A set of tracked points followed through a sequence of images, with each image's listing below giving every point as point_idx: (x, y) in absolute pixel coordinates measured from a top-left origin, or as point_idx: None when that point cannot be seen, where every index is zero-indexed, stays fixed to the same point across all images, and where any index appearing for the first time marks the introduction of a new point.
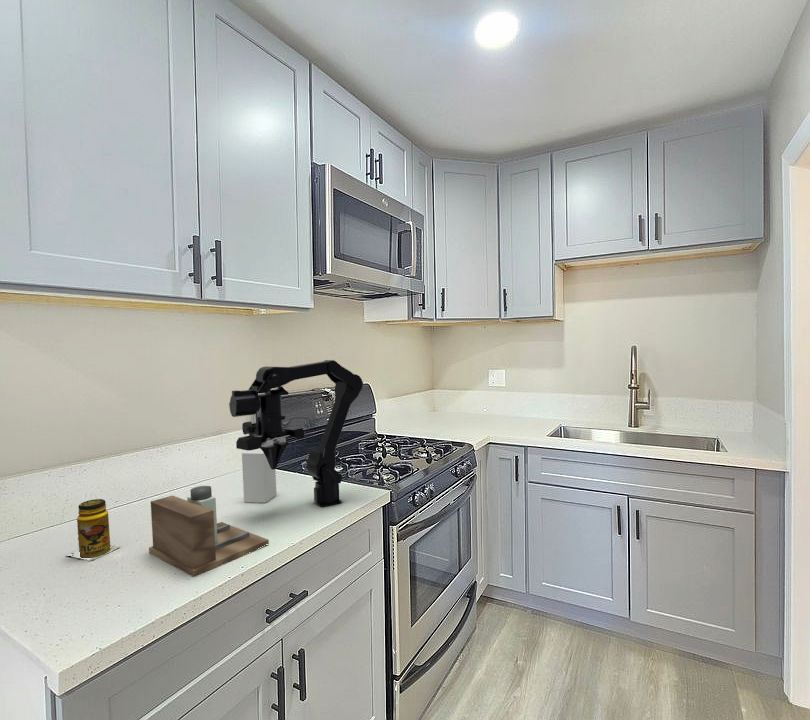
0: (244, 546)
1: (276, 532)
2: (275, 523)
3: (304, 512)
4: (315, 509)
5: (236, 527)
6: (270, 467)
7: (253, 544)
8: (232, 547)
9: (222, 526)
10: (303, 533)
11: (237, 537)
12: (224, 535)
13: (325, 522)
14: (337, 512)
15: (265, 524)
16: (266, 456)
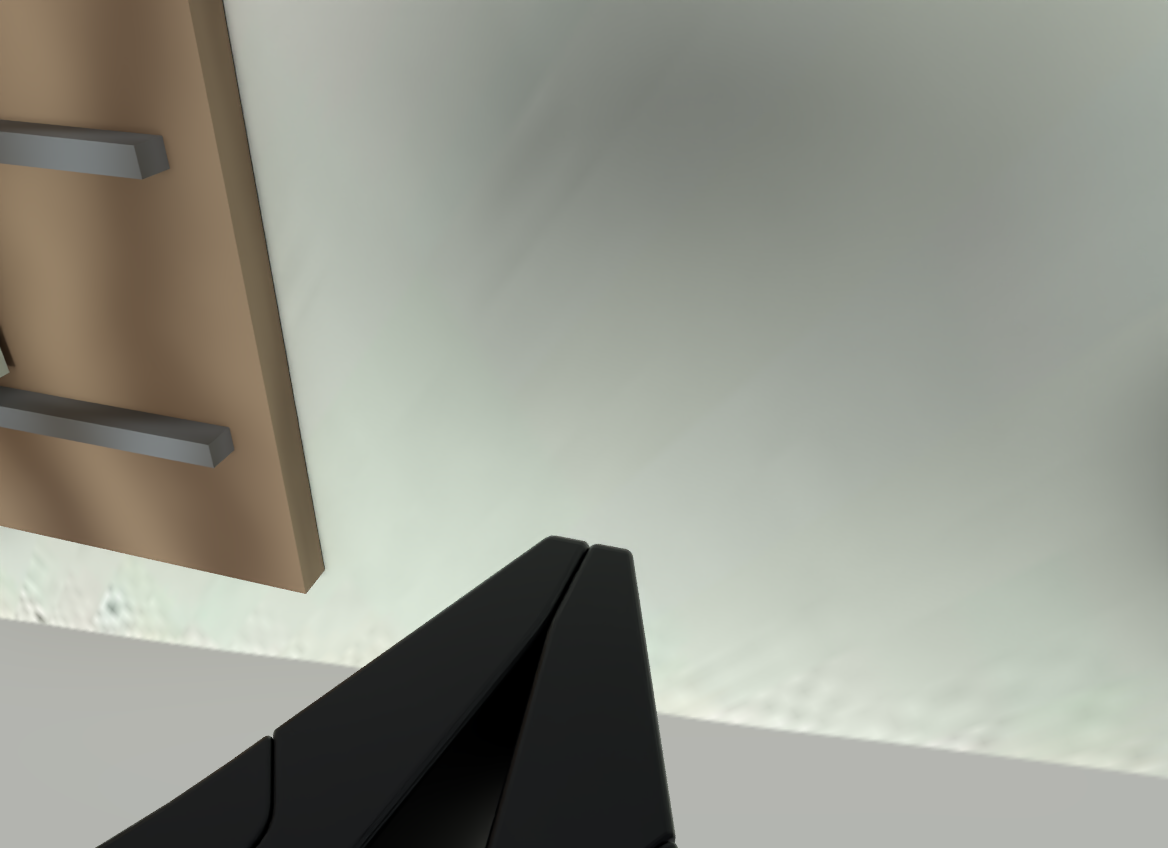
0: (153, 525)
1: (472, 490)
2: (592, 353)
3: (983, 420)
4: (1124, 472)
5: (226, 197)
6: (519, 561)
7: (205, 555)
8: (89, 472)
9: (79, 145)
10: None
11: (122, 447)
12: (95, 252)
13: (829, 702)
14: (1104, 695)
15: (522, 284)
16: (211, 824)
